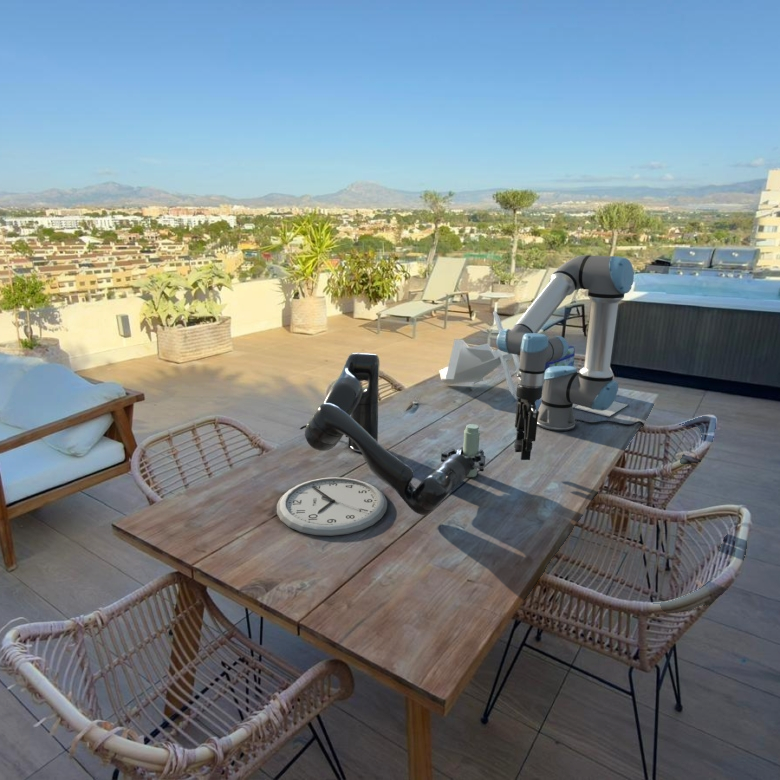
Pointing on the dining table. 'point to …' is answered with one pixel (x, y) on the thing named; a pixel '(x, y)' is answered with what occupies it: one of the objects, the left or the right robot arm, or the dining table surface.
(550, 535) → the dining table surface
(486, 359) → the white plastic object
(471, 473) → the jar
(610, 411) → the invitation card
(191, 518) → the dining table surface
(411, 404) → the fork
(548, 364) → the lunch box
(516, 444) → the lid
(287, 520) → the wall clock
